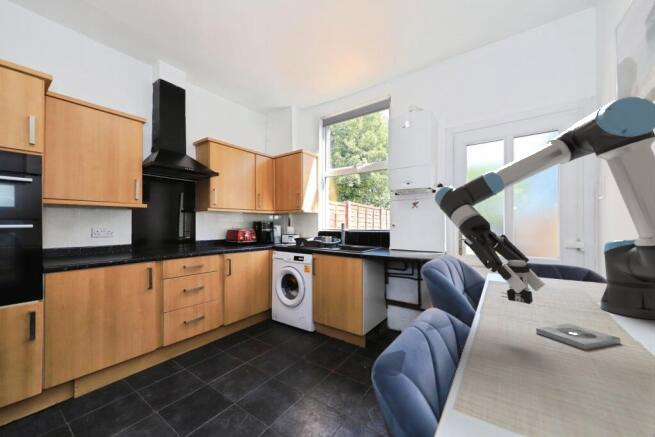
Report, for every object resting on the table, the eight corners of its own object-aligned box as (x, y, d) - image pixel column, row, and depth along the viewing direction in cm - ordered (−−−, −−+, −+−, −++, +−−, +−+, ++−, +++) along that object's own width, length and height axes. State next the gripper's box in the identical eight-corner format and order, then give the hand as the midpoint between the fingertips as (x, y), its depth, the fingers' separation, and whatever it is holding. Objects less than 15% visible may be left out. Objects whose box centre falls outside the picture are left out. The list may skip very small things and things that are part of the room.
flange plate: (568, 328, 68) (568, 323, 68) (620, 343, 58) (620, 338, 59) (536, 333, 65) (536, 328, 65) (585, 350, 55) (585, 344, 55)
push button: (498, 300, 65) (494, 261, 65) (505, 295, 68) (501, 258, 68) (530, 306, 60) (526, 263, 60) (536, 300, 63) (532, 260, 63)
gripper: (486, 231, 82) (547, 294, 65) (439, 232, 77) (491, 300, 60) (501, 214, 77) (570, 276, 61) (451, 213, 72) (512, 282, 55)
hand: (531, 288), depth 60 cm, fingers closed on push button, 5 cm apart
